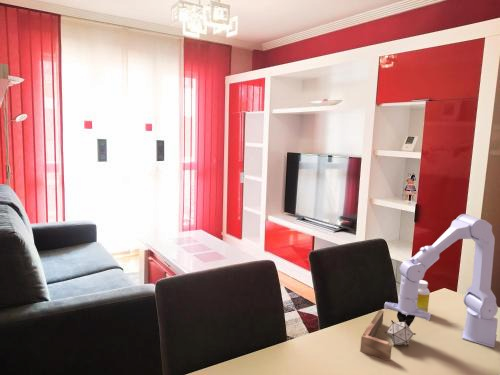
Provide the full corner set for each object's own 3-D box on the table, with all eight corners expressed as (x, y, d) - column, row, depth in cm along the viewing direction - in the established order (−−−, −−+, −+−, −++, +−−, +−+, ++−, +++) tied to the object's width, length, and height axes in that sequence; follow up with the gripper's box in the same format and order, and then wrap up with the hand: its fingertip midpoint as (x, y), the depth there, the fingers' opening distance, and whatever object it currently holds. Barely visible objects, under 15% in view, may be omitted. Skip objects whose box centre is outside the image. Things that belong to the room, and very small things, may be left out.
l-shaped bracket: (403, 330, 134) (405, 316, 134) (389, 361, 115) (391, 345, 114) (378, 322, 139) (379, 309, 138) (360, 351, 119) (361, 335, 119)
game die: (402, 357, 123) (415, 345, 116) (378, 343, 126) (389, 330, 119) (409, 335, 129) (422, 322, 122) (385, 322, 132) (397, 308, 125)
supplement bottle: (431, 315, 148) (434, 283, 146) (418, 317, 145) (422, 285, 143) (417, 307, 154) (421, 277, 152) (405, 309, 151) (408, 279, 149)
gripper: (383, 294, 128) (379, 331, 129) (430, 306, 120) (425, 345, 122) (388, 288, 134) (384, 323, 135) (432, 298, 126) (428, 336, 128)
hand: (404, 333), depth 129 cm, fingers closed
